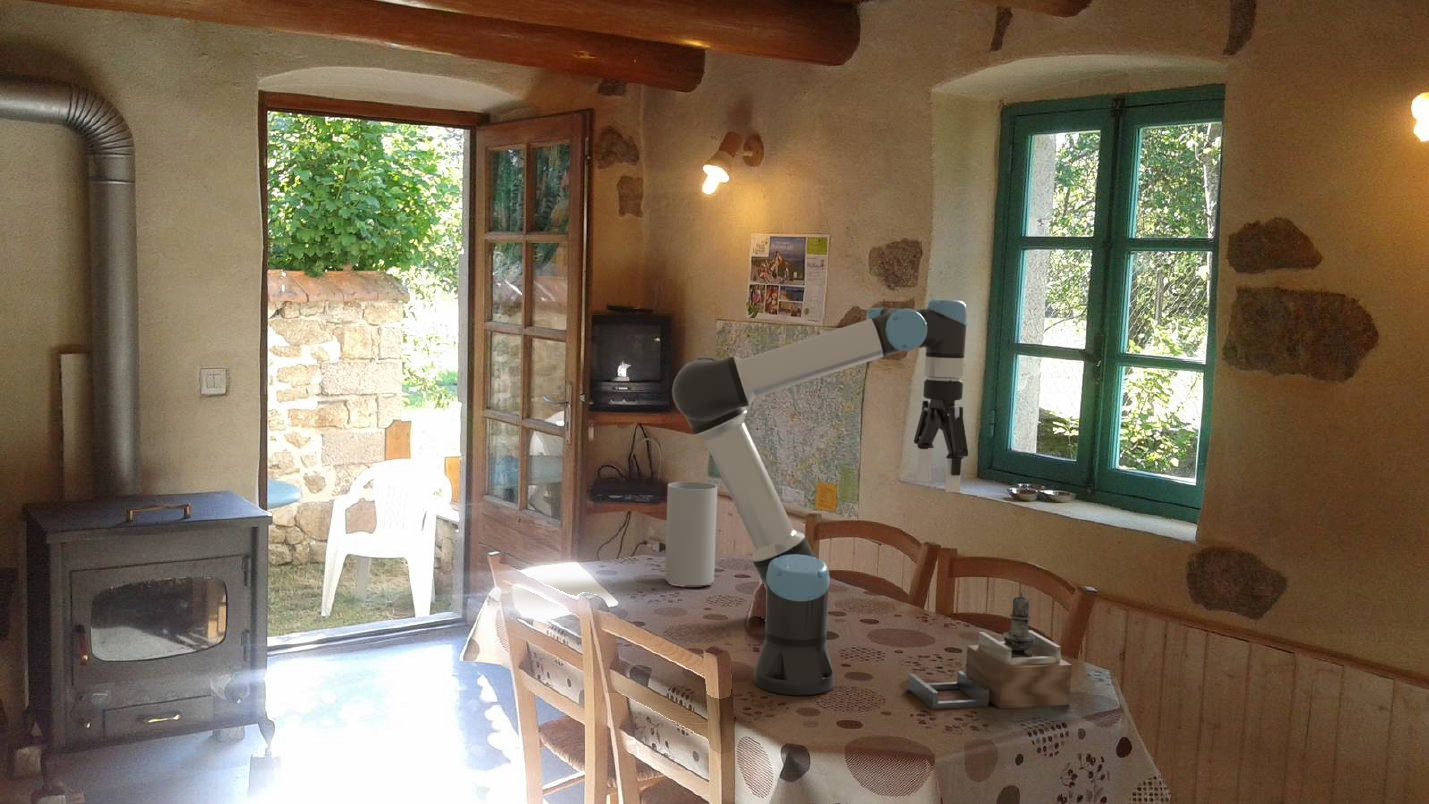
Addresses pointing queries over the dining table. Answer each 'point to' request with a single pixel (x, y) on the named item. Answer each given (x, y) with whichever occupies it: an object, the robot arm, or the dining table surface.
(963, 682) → the low socket
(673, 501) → the cylinder vase
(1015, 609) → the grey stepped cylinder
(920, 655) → the dining table surface
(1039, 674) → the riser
